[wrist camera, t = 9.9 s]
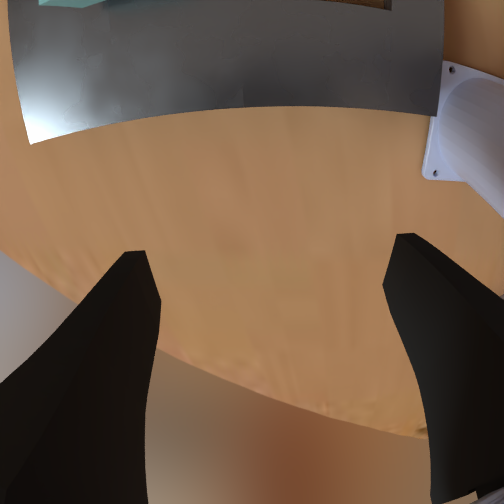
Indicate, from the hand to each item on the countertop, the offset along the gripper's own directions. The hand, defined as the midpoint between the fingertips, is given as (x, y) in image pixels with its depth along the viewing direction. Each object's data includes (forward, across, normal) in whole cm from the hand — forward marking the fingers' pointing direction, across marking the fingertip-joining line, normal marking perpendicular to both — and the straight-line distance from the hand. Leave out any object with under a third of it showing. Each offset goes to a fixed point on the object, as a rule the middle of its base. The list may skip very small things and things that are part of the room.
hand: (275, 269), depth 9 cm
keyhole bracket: (+10, +1, -11) cm, 15 cm away
